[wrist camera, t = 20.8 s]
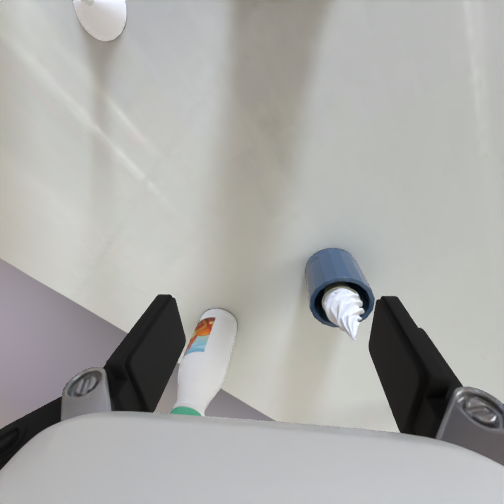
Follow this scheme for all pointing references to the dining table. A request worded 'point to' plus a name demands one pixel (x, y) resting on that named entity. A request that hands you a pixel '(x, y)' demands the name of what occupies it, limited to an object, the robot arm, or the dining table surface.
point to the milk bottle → (205, 362)
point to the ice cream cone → (343, 307)
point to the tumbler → (335, 270)
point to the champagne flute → (102, 17)
